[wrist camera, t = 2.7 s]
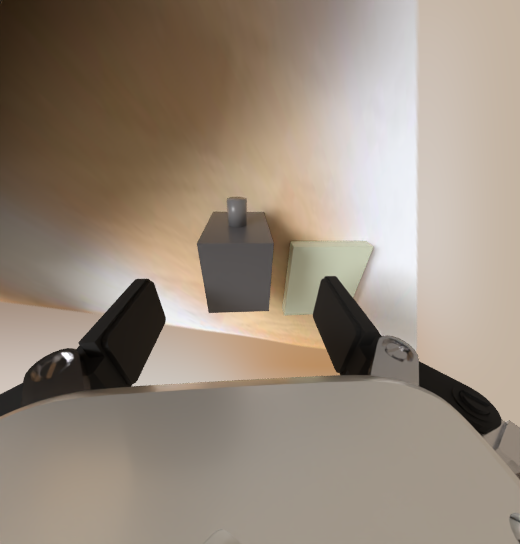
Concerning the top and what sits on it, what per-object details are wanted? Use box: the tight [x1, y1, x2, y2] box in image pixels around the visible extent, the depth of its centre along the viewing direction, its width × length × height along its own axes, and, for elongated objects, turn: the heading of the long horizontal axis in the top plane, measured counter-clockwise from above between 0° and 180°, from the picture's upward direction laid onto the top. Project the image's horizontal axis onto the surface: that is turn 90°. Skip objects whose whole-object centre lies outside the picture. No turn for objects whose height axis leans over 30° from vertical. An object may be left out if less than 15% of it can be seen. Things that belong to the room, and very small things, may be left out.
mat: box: [282, 241, 373, 315], centre depth 18 cm, size 8×7×1 cm
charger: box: [197, 197, 274, 313], centre depth 13 cm, size 7×4×6 cm, turn 178°
